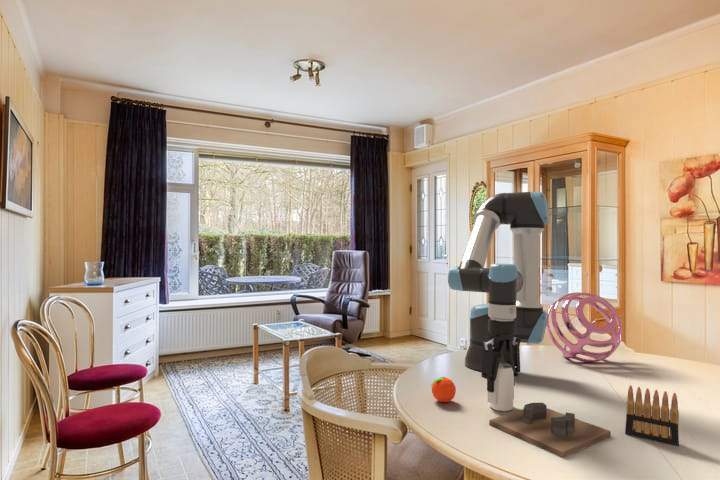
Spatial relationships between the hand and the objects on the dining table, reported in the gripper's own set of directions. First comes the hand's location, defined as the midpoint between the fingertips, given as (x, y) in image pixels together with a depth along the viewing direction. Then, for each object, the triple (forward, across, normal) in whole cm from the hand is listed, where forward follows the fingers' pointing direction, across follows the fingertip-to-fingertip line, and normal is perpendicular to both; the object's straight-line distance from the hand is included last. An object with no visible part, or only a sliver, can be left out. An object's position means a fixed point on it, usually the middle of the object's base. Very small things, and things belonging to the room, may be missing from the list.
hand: (500, 400), depth 124 cm
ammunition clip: (+2, +15, -32) cm, 35 cm away
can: (+2, 0, 0) cm, 2 cm away
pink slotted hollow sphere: (+2, +71, +16) cm, 72 cm away
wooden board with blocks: (+2, -2, -16) cm, 16 cm away
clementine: (+2, -11, +12) cm, 16 cm away
